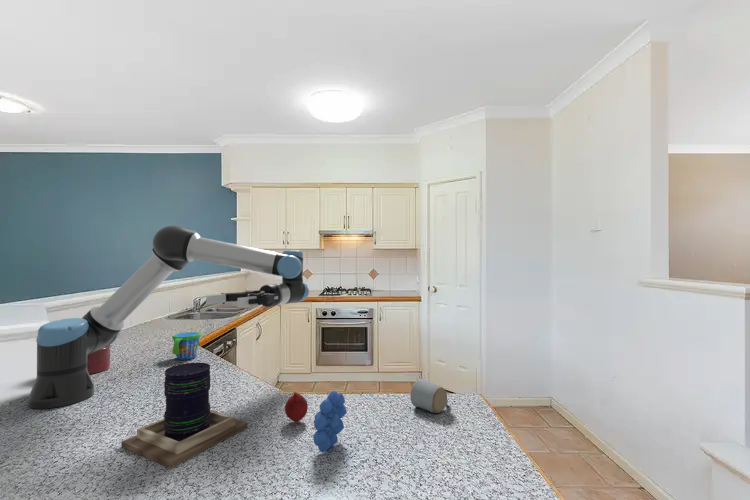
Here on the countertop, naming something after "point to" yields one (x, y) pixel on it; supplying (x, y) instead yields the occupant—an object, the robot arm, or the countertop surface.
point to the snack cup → (186, 345)
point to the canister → (99, 360)
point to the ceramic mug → (428, 396)
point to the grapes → (329, 421)
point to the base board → (175, 452)
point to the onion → (296, 407)
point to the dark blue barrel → (186, 400)
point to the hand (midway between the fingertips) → (222, 301)
